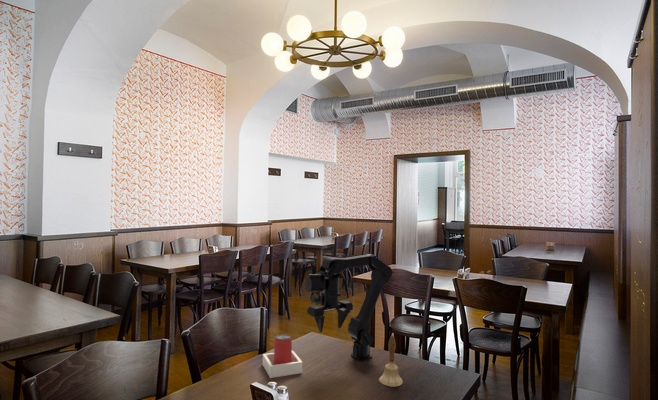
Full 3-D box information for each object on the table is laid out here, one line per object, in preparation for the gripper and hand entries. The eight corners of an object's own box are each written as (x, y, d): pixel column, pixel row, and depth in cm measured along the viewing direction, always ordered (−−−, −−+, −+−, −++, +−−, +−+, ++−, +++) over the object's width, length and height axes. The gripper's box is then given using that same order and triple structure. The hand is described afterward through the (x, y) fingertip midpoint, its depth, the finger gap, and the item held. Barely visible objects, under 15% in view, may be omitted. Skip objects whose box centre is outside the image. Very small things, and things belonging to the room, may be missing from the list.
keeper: (292, 360, 151) (292, 350, 151) (302, 373, 140) (302, 362, 140) (262, 364, 147) (262, 354, 147) (270, 378, 136) (270, 366, 136)
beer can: (282, 374, 139) (283, 341, 139) (269, 369, 143) (270, 337, 143) (294, 368, 144) (295, 336, 144) (282, 363, 148) (282, 332, 148)
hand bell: (407, 381, 136) (408, 336, 136) (394, 389, 130) (395, 342, 130) (387, 373, 141) (388, 330, 141) (374, 381, 135) (375, 335, 135)
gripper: (336, 283, 161) (335, 320, 161) (299, 288, 150) (298, 328, 150) (354, 288, 152) (353, 328, 152) (316, 294, 141) (315, 337, 141)
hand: (330, 330), depth 149 cm, fingers open, 9 cm apart
